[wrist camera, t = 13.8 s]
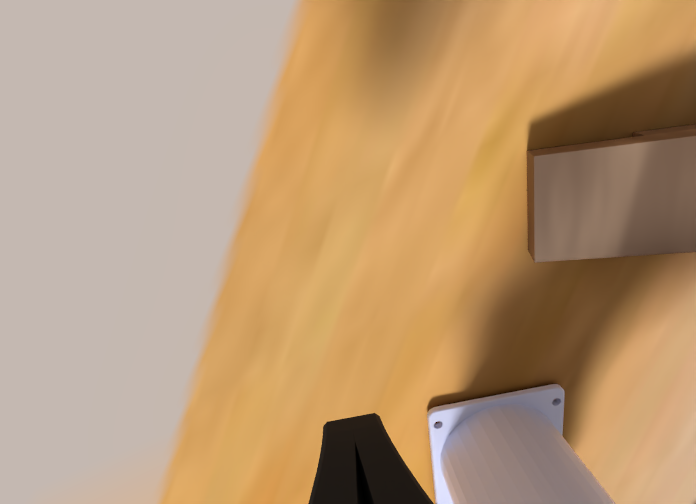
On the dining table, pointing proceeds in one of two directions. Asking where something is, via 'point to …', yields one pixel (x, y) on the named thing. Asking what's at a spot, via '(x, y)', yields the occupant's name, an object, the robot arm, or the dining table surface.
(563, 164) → the domino
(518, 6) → the dining table surface
